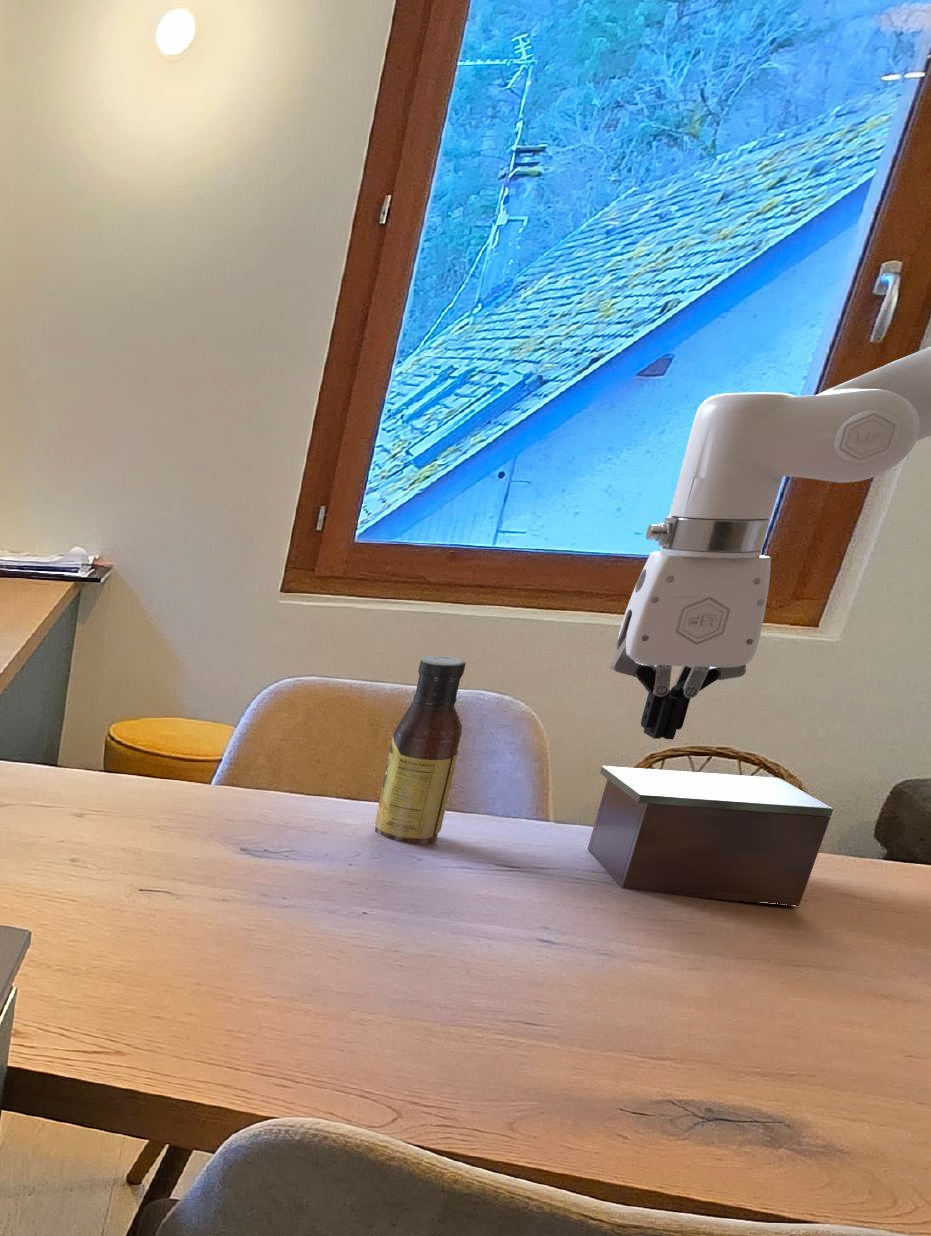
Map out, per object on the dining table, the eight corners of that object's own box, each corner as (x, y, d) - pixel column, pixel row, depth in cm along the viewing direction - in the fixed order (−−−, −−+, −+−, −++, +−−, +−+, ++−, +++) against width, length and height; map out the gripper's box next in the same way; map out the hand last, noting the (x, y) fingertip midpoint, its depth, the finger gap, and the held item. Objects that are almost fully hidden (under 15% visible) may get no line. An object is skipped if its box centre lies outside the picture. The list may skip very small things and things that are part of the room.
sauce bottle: (397, 829, 149) (439, 649, 140) (449, 847, 144) (496, 660, 135) (356, 839, 146) (396, 656, 138) (407, 857, 141) (453, 668, 133)
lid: (638, 802, 128) (640, 794, 128) (599, 773, 139) (601, 765, 138) (831, 817, 124) (834, 808, 124) (776, 785, 134) (779, 777, 134)
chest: (621, 890, 132) (647, 803, 128) (585, 855, 142) (608, 774, 138) (798, 907, 128) (830, 817, 124) (748, 869, 138) (776, 786, 134)
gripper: (632, 540, 123) (581, 740, 130) (829, 543, 118) (765, 749, 125) (606, 533, 129) (559, 723, 136) (791, 536, 125) (733, 732, 132)
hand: (658, 735), depth 131 cm, fingers closed
